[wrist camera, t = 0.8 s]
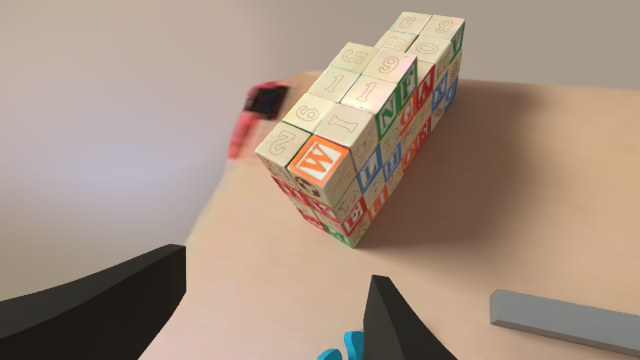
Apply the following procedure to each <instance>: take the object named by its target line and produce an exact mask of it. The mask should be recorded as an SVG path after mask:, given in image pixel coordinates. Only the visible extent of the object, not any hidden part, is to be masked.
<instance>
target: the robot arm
mask: <svg viewBox="0 0 640 360" xmlns="http://www.w3.org/2000/svg"><path fill="white" fill-rule="evenodd" d="M185 293H186V246H181V245H175V244H169V245H166V246H163V247H160V248H158V249H155V250H152V251H150V252H147V253H145V254H142V255H140V256H137V257H135V258H132V259H130V260H128V261H125V262H123V263H120V264H118V265H115V266H113V267H110V268H107V269H105V270H102V271H99V272H97V273H94V274H91V275H89V276H86V277H83V278H81V279H78V280H75V281H72V282H69V283H66V284H63V285H59V286H56V287H53V288H49V289H46V290H43V291H39V292H36V293H32V294H28V295H24V296H20V297H16V298H12V299H8V300H4V301H0V360H138V358H139V357H140V356H141V355H142V353H143V352H144V351H145V350H146V348H147V347H148V346H149V344H150V343H151V342H152V341H153V339H154V338H155V337H156V336H157V334H158V333H159V332H160V330H161V329H162V328H163V327H164V325H165V324H166V323H167V321H168V320H169V319H170V317H171V316H172V315H173V313H174V311H175V310H176V308H177V307H178V305H179V303H180V301H181V300H182V298H183V296H184V294H185ZM363 325H364V352H365V360H458V359H457V358H456V357H455V356H454V355H453V354H452V353H451V352H450V351H448V350H447V349H446V348H445V347H444V346H443V345H442V343H441V342H440V341H439V340H438V339H437V338H436V337H435V336H434V335H433V334H432V333H431V331H430V330H429V329H428V328H427V327H426V326H425V325H424V323H423V322H422V321H421V320H420V319H419V317H418V316H417V315H416V314H415V312H414V311H413V310H412V309H411V307H410V306H409V305H408V303H407V302H406V301H405V299H404V298H403V296H402V295H401V294H400V292H399V291H398V289H397V288H396V287H395V285H394V284H393V282H392V281H391V280H390V278H389V277H385V276H379V275H372V278H371V283H370V288H369V294H368V299H367V304H366V309H365V314H364V319H363Z"/></svg>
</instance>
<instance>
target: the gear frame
mask: <svg viewBox="0 0 640 360" xmlns="http://www.w3.org/2000/svg"><path fill="white" fill-rule="evenodd" d="M490 324H494V325H498V326H503V327H507V328H511V329H516V330H520V331H525V332H529V333H534V334H538V335H543V336H547V337H551V338H556V339H560V340H565V341H569V342H574V343H578V344H583V345H587V346H591V347H596V348H600V349H605V350H609V351H614V352H618V353H623V354H627V355H632V356H636V357H640V316H638V315H632V314H627V313H622V312H616V311H611V310H606V309H600V308H595V307H590V306H584V305H579V304H574V303H568V302H563V301H558V300H553V299H547V298H542V297H537V296H531V295H526V294H521V293H515V292H510V291H505V290H499V289H497V290H496V291H495V292H494V293H493V294H492V295H490Z"/></svg>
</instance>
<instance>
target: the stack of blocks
mask: <svg viewBox="0 0 640 360" xmlns="http://www.w3.org/2000/svg"><path fill="white" fill-rule="evenodd" d="M464 27H465V19H461V18H452V17H446V16H439V15H433V16H431V15H427V14H420V13H411V12H403V13H402V14H401V15H400V17H399V18H398V19H397V20H396V22H395V23H394V24H393V25H392V27H391V28H390V30H388V31H387V32H386V33H385V34H384V36H383V37H382V38H381V39H380V41H379V42H378V43H377V44H376V45H375V47H369V46H364V45H360V44H356V43H351V42H349V43H348V44H347V45H346V46H345V47H344V48H343V49H342V50H341V52H340V53H339V54H338V55H337V56H336V57H335V59H334V60H333V61H332V62H331V64H330V65H329V67H328V68H327V69H326V70H325V71H324V72H323V73H322V74H321V76H320V77H319V78H318V79H317V81H316V82H315V83H314V84H313V85H312V86H311V88H310V89H309V90H308V92H307V93H305V94H304V95H303V96H302V97H301V99H300V100H299V101H298V102H297V103H296V105H295V106H294V107H293V108H292V109H291V110H290V111H289V113H288V114H287V115H286V116H285V117H284V119H283V121H282V122H280V123H278V124H277V125H276V127H275V128H274V129H273V130H272V131H271V132H270V134H269V135H268V136H267V137H266V138H265V139H264V140H263V142H262V143H261V144H260V145H259V146H258V147H257V148H256V150H255V153H256V154H257V155H258V157H259V158H260V159H261V161H262V162H263V163H264V164H265V166H266V167H267V168H268V170H269V171H270V172H271V173H272V174H271V177H272V178H273V179H274V181H275V182H276V183H277V184H278V185H279V187H280V188H281V189H282V191H283V192H284V193H286V195H287V196H288V197H289V199H290V200H291V201H292V202H293V204H294V205H295V206H296V208H297V209H298V210H299V212H300V213H301V214H302V216H303V217H304V219H306V220H307V221H309V222H311V223H312V224H314V225H315V226H317V227H319V228H320V229H322V230H323V231H325V232H327V233H329V234H331V235H332V236H334V237H336V238H337V239H339V240H340V241H342V242H343V243H345V244H347V245H348V246H350V247H351V248H353V249H354V248H355V246H356V245H357V243H358V242H359V240H360V239H361V237H362V236H363V234H364V233H365V232H366V230H367V229H368V227H369V226H370V224H371V223H372V222H373V221H374V220H375V218H376V216H377V215H378V213H379V212H380V210H381V209H382V207H383V206H384V204H385V203H386V201H387V200H388V198H389V197H390V195H391V194H392V193H393V191H394V190H395V188H396V187H397V185H398V183H399V182H400V180H401V179H402V177H403V173H404V172H405V171H406V169H407V168H408V166H409V165H410V163H411V162H412V160H413V159H414V157H415V156H416V153H417V151H418V150H419V148H420V147H421V146H422V144H423V142H424V141H425V139H426V138H427V136H428V135H429V133H431V132H432V131H433V129H434V127H435V126H436V124H437V123H438V121H439V120H440V118H441V117H442V115H443V114H444V112H445V110H446V109H447V107H448V106H449V104H450V103H451V101H452V100H453V98H454V96H455V94H456V87H457V80H458V73H459V69H460V62H461V56H462V49H461V46H462V40H463V33H464Z"/></svg>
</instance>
